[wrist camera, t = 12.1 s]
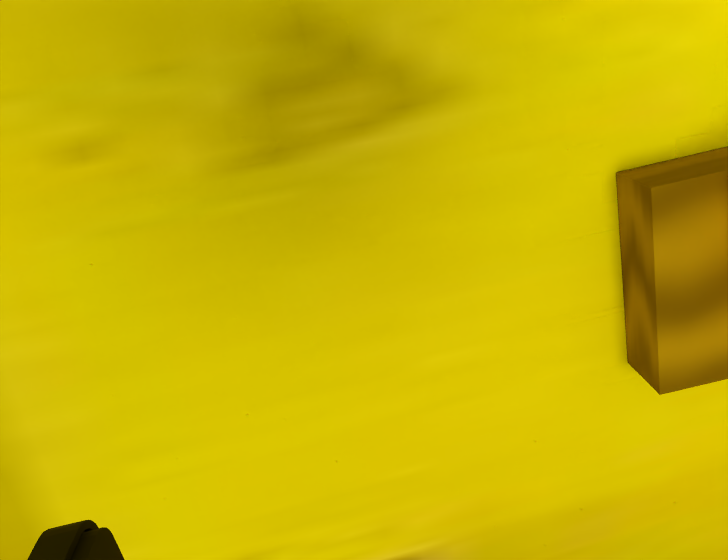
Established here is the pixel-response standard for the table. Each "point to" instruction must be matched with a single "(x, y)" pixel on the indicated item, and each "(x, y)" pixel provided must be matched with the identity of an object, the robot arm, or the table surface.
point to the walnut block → (676, 269)
